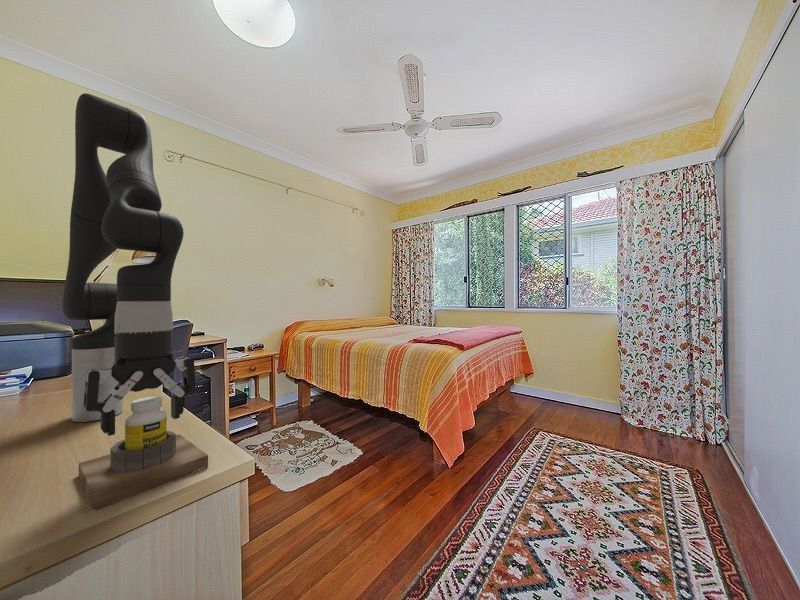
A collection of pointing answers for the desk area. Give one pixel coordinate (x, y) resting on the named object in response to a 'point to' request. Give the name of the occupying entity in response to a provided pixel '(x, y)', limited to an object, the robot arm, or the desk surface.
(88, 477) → the cup bracket
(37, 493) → the desk surface
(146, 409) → the supplement bottle
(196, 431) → the desk surface
